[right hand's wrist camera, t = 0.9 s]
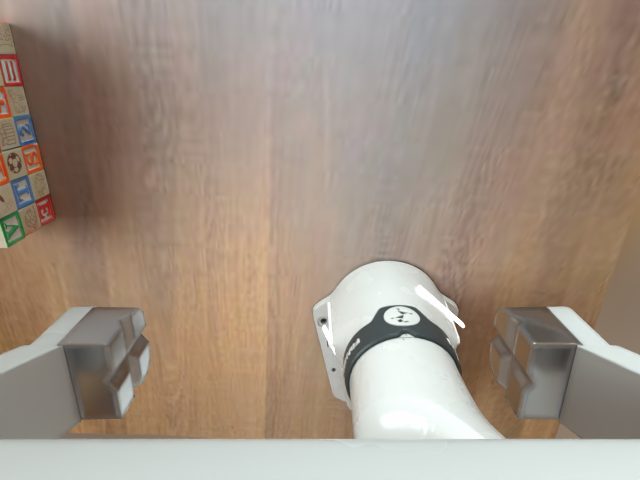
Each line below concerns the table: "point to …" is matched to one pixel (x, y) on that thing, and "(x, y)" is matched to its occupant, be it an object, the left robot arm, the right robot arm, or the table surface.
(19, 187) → the stack of blocks
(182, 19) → the table surface
